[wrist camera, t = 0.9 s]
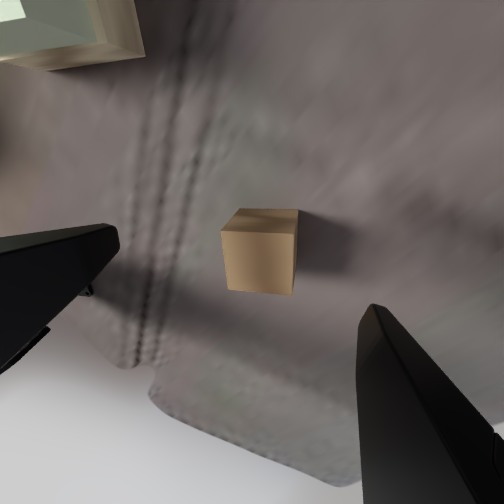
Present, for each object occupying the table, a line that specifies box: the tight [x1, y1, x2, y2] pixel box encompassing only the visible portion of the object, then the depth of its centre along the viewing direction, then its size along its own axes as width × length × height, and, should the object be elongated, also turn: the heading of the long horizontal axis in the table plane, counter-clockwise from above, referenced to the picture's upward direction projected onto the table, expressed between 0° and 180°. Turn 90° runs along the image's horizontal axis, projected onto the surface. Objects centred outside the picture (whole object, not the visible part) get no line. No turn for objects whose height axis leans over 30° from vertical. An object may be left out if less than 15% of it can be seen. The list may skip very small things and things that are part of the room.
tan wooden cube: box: [221, 209, 298, 296], centre depth 19 cm, size 5×5×5 cm
